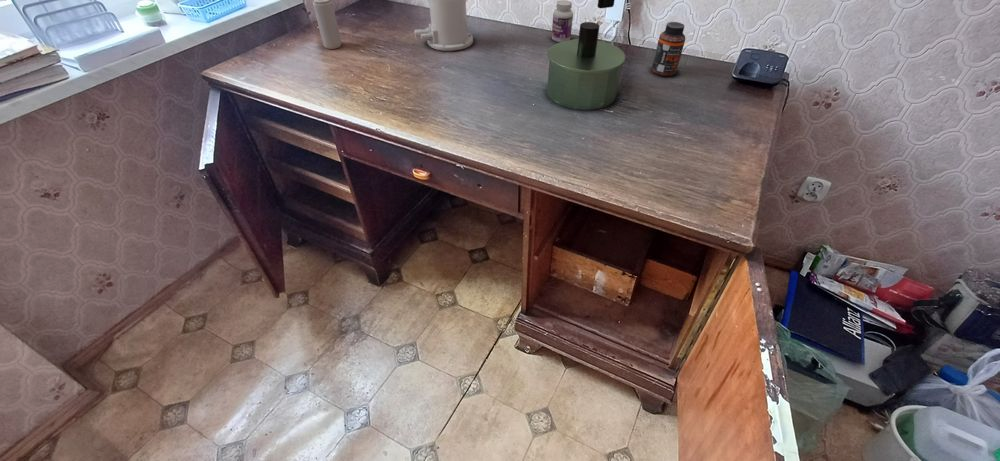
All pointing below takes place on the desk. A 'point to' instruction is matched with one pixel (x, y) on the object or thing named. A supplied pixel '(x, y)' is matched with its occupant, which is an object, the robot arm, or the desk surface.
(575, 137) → the desk surface
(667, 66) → the supplement bottle
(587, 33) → the tin lid
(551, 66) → the waste tin
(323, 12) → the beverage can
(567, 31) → the pill bottle
